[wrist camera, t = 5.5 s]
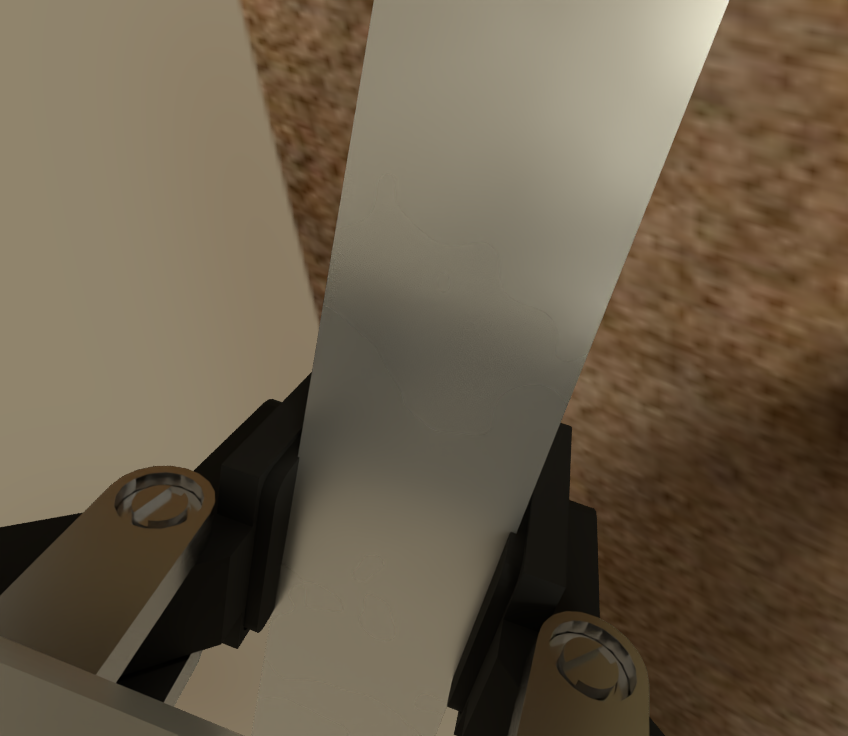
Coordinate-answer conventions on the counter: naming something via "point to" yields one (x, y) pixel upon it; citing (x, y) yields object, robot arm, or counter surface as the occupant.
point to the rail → (458, 327)
